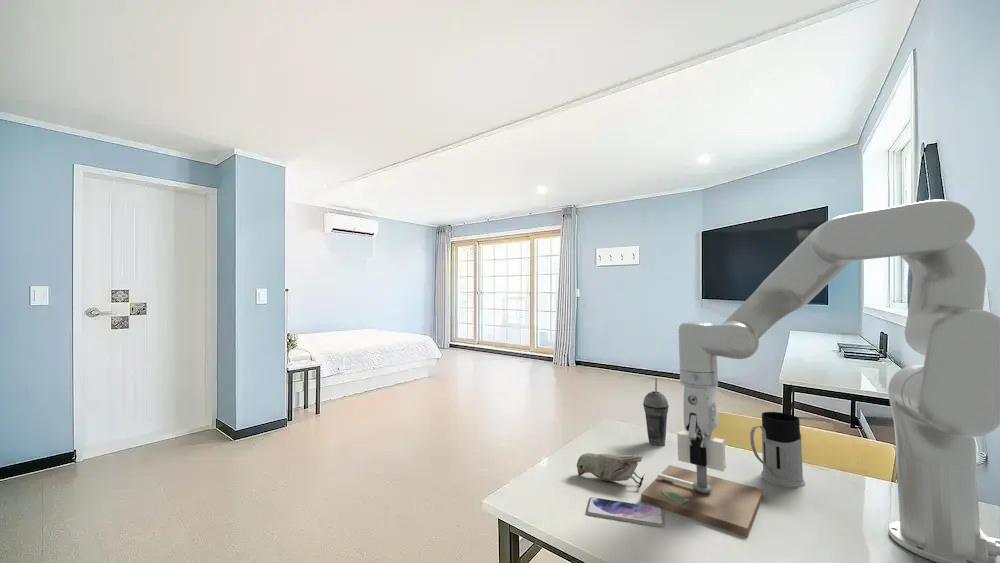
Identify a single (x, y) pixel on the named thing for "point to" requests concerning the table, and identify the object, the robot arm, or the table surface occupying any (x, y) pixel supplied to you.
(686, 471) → the brown wooden flat slab
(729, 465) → the table surface
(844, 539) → the table surface
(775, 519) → the table surface
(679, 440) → the stand
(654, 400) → the beverage cup
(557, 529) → the table surface
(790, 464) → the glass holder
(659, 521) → the smartphone
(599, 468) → the decorative bird
